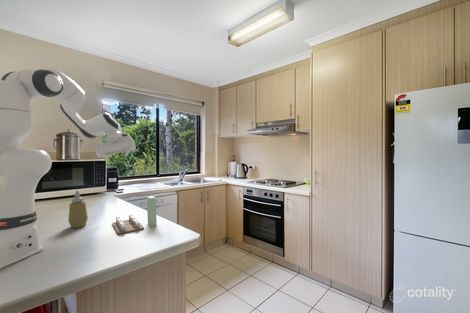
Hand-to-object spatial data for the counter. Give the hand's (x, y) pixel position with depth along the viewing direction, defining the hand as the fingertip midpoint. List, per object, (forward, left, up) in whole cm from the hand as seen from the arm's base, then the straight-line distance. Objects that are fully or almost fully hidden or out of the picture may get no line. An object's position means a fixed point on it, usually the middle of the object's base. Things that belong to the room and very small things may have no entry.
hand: (117, 157), depth 121 cm
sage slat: (-10, -22, -34) cm, 42 cm away
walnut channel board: (-13, -11, -34) cm, 38 cm away
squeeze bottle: (-10, +15, -35) cm, 39 cm away
